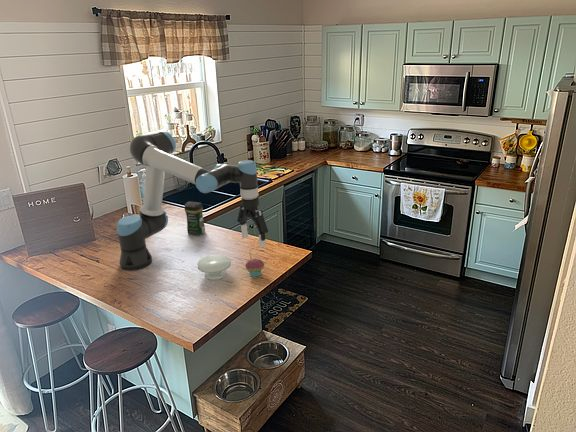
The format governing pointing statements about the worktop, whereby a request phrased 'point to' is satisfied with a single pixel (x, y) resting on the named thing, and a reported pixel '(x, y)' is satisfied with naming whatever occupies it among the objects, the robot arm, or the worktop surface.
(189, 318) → the worktop surface
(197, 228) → the coffee jar
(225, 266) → the cake stand
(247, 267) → the cupcake
